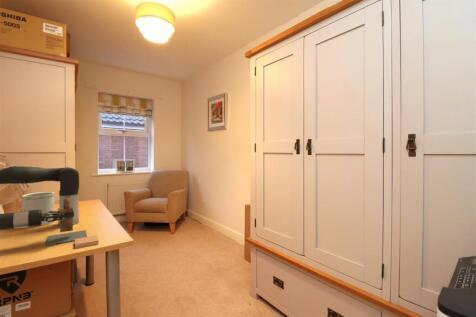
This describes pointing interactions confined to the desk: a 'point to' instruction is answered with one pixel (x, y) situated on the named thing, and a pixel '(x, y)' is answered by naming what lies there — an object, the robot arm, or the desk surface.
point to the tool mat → (65, 237)
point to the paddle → (66, 223)
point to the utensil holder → (39, 202)
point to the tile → (86, 241)
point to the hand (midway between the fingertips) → (73, 213)
